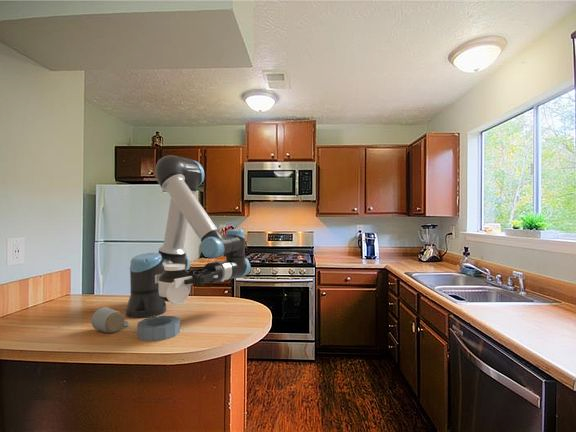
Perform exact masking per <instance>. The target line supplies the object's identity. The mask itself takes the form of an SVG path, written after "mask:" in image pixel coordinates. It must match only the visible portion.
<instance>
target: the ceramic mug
mask: <svg viewBox="0 0 576 432" xmlns="http://www.w3.org/2000/svg"><path fill="white" fill-rule="evenodd" d="M129 324H130V322H129V321H126V320H125V316H124V314H123V313H122V312H120V311H119V310H116V309H112V308H110V307H107V306H104V307H100V308H98V309H97V310H96V311H95V312H94V313H93V315H92V318H91V326H92V328H93V329H95V330H97V331H101V332H104V333H107V334H114V333H115V334H116V333H117V332H119V331H120V330H121V329H122V328H123V327H124V328H127V327H128V326H129Z"/></svg>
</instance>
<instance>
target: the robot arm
mask: <svg viewBox="0 0 576 432" xmlns="http://www.w3.org/2000/svg"><path fill="white" fill-rule="evenodd" d="M154 174H155V178H156V181H157V183H158V184H159V187H161V189H162V190H163V192H167V193H168V194H169V195H170V201H169V207H168V214H167V220H166V225H165V232H164V238H163V239H164V240H163V245H162V246H159V248H158V252H149V253H148V252H147V253H142V254H138V255H135V256H133V257H132V258H131V260H130V267H129V273H130V274H129V275H130V277H129V278H130V295H129V299H128V301H127V305H126V307H125V316H126V317H128V318H133V319H134V318H135V319H138V318H139V319H141V318H143V319H145V318H150V317H155V316H161V315H162V314H165V313H166V312H167V303H166V301H164V300H163V299H162V298H161V297H160V296H159V278H160V276H161V274H162V273H163V272H164V271H165V270H164V265H167V264H185V270H186V271H187V272H188V273H189V275H190V276H189V277H183V278H178V279H174V288H178V287H182V286H187V285H191V286H192V285H198V286H201V285H204V284H207V283H209V284H214V283H219V282H221V283H223V282H224V281H227V280H233V279H237V278H241V277H245V276H246V275H247V276H248V274H249V273H250V270H251V263H250V261H249V259H248V258H246V255H245V254H246V253H245V252H246V250H245V249H246V235H245V230H243V229H234V228H233V229H227V230H226V231H225V235H222V233H221V232H220V230H219V229H218V228H217V226H216V225H215V223H214V221H213V220H212V219H211V217H210V216H209V214H208V213H207V211H206V210H205V209H204V207H203V206H202V204H201V203H200V202H199V200H198V199H197V197H196V196H195V194H196V193H197V191H198V190H197V189H198V187H199V186H201V185H202V183H203V182H204V180H205V171H204V168H203V166H202V164H201V163H199V162H198V161H196V160H193V159H192V158H187V157H181V156H177V155H171V154H170V155H165V156H163V157H161V158H160V159H158V161H157V163H156V165H155V167H154ZM188 224H189V225H190V227H191V228H192V230H193V231H194V232H195V234H196V237H198V239H199V241H200V242H201V244H200V249H201V253H202V255H203V256H204V257H206V258H208V259H209V258H210V259H211V258H212V259H215V258H216V259H217V258H220V257H223V256H225V260H219V261H211V262H207V263H206V264H205V265H204V266H203V268H202V267H200V268H194V267H193V268H190V265H191V264H190V259H189V257H188V254H187V251H186V249H185V247H184V245H185V241H186V234H187V231H188V230H187V228H188ZM189 268H190V269H189Z"/></svg>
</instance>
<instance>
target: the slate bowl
mask: <svg viewBox="0 0 576 432" xmlns="http://www.w3.org/2000/svg"><path fill="white" fill-rule="evenodd" d="M180 324H181V322H180V317H178V316H176V315H156V316H151V317H145V318H143V319H142V320H140V321H138V322H137V326H136V328H137V330H136V332H137V339H139V340H141V341H143V342H158V341H159V342H160V341H165V340H168V339H171V338H175V337H176V336H178V335H179V334H180V333H181V331H180V330H181V325H180Z"/></svg>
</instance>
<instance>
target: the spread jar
mask: <svg viewBox="0 0 576 432" xmlns="http://www.w3.org/2000/svg"><path fill="white" fill-rule="evenodd" d="M164 270H165V271H164V272H163V273H162V274H161V276H160V278H159V296H160V297H161V298H162V299H163V300H164V301H165V302H167V303H171V304H172V305H180V304H184V302H186V300H188V297H189V296H190V293H191V286H192V285H187V286H182V287H178V288H174V279H178V278H183V277H189V276H190V275H189V273H188V272H187V271H186V270H185V264H167V265H164Z"/></svg>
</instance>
